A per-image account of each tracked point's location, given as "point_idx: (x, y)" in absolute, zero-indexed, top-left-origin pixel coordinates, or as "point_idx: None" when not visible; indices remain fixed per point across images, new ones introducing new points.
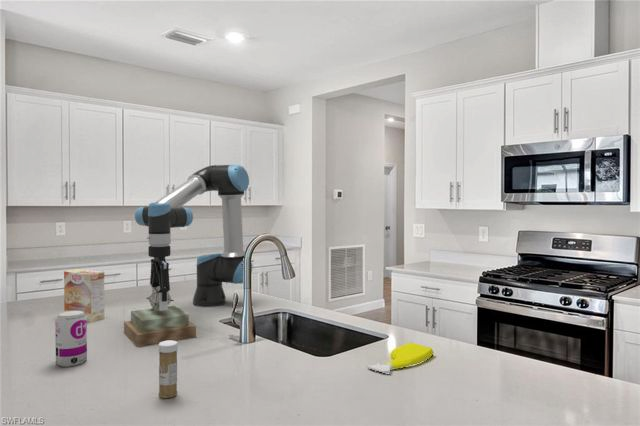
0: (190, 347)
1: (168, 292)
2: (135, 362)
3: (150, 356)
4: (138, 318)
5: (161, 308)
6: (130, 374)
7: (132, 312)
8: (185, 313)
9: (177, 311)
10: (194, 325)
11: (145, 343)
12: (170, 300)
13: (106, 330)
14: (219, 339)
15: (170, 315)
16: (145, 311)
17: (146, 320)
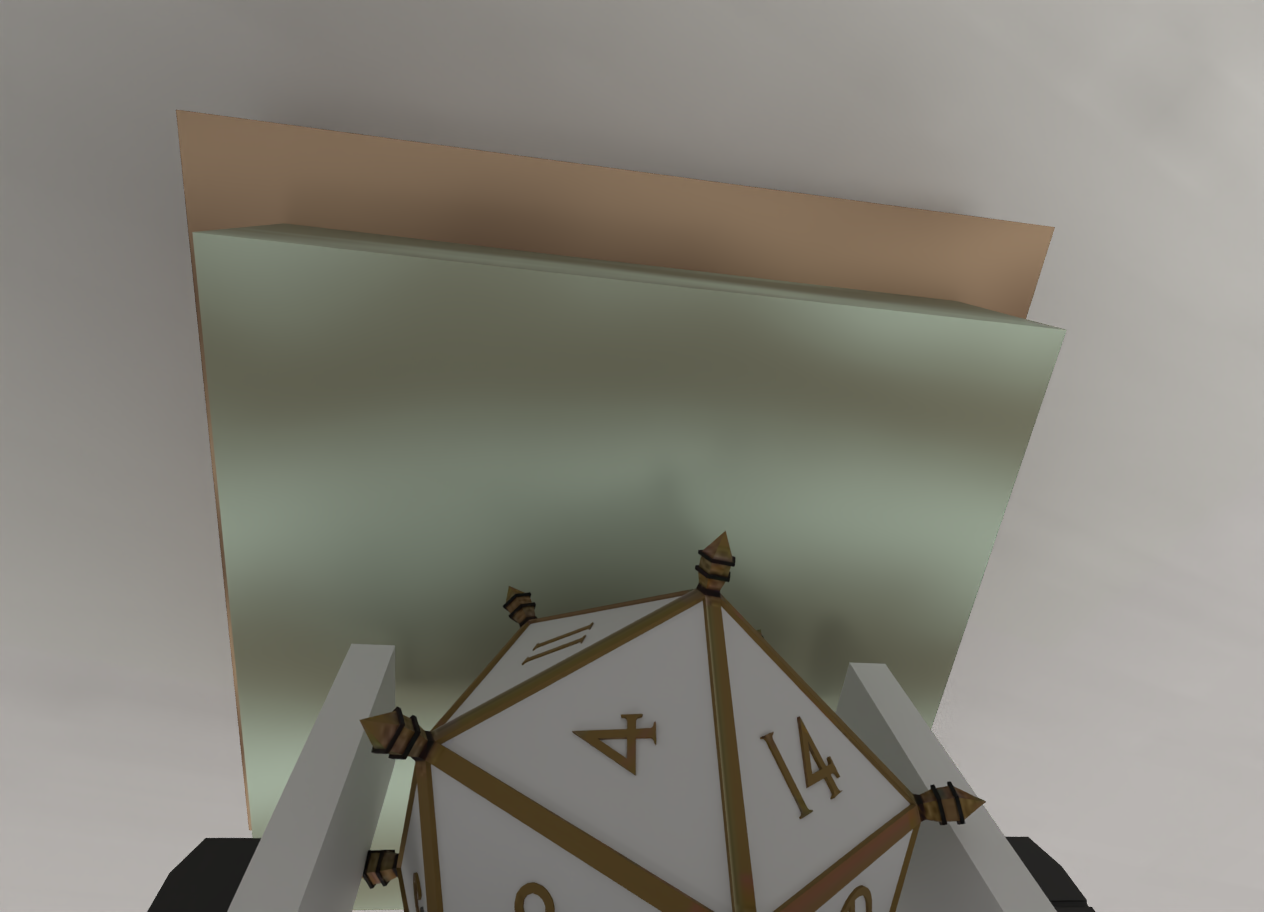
0: (1180, 424)
1: (746, 831)
2: (1105, 822)
3: (1087, 730)
4: None
5: None
6: (1246, 877)
7: (354, 909)
8: (968, 348)
9: (735, 400)
10: (1015, 235)
11: None
12: (756, 639)
13: (129, 831)
14: (1251, 36)
15: (895, 585)
16: (398, 779)
17: None
